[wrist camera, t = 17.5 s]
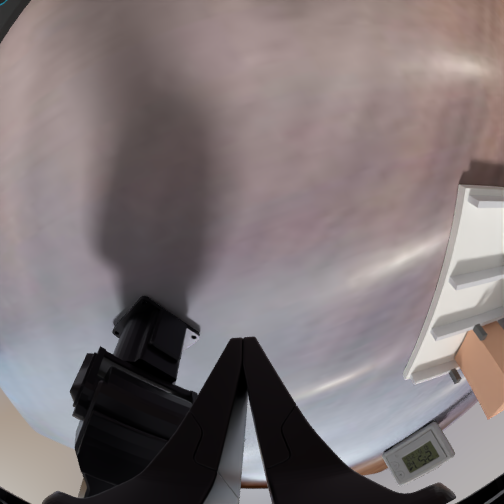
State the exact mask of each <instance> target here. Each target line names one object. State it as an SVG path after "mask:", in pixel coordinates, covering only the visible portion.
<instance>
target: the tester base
mask: <svg viewBox="0 0 504 504" xmlns="http://www.w3.org/2000/svg"><path fill="white" fill-rule="evenodd" d="M503 261H504V187H497V186H482V185H462V184H459V187H458V194H457V201H456V207H455V213H454V218H453V223H452V228H451V233H450V238H449V242H448V246H447V251H446V255H445V259H444V262H443V266H442V270H441V273H440V277H439V280H438V284H437V287H436V290H435V293H434V297H433V300H432V303H431V306H430V308H429V311H428V314H427V317H426V320H425V322H424V325H423V328H422V330H421V333H420V335H419V338H418V340H417V343H416V345H415V348H414V350H413V352H412V355H411V357H410V359H409V361H408V364H407V366H406V368H405V370H404V372H403V377H404V379H405V380H407V379H410V378H411V381H412V383H413V385H415V384H418V383H421V382H425V381H428V380H431V379H433V378H436V377H439V376H442V375H445V374H447V373H449V374H450V376H451V378H452V380H453V382H454V383H455V384H456V383H458V382H459V381H460V380H461V377H460V375H459V374H458V372H457V370H458V369H460V367H459V365H458V364H457V362H456V360H455V359H454V358H455V356H456V354H457V352H458V351H459V349H460V347H461V345H462V343H463V341H464V339H465V337H466V335H467V333H468V331H470V330H473V331H474V332H475V334H476V335H477V337H478V338H479V339H480V341H482V340H485V338H486V337H487V335H488V334H487V333H486V332H485V330H484V329H483V328H482V326H484V325H486V324H489V323H492V322H494V321H497V322H498V323H499V324H500V326H501V327H502V328H503V329H504V262H503Z"/></svg>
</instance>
